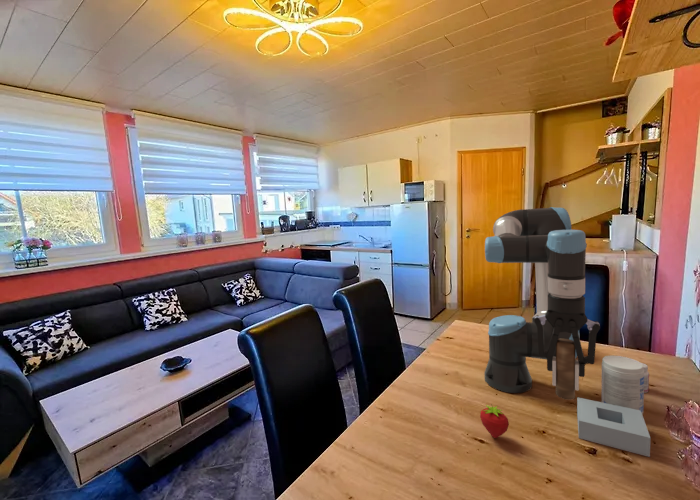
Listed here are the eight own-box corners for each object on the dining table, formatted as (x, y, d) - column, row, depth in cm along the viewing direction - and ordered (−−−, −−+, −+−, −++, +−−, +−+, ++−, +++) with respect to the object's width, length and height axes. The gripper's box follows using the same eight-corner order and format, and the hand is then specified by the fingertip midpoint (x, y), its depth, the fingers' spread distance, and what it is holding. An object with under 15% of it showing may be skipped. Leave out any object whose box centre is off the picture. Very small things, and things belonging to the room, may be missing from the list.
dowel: (555, 397, 80) (555, 343, 78) (555, 389, 83) (556, 337, 82) (575, 401, 78) (575, 346, 76) (574, 392, 81) (575, 340, 79)
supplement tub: (650, 421, 90) (652, 371, 88) (609, 417, 93) (610, 368, 91) (632, 401, 99) (633, 355, 97) (595, 398, 102) (596, 353, 100)
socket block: (578, 438, 85) (578, 420, 85) (577, 413, 95) (577, 397, 95) (649, 457, 78) (650, 437, 77) (640, 427, 87) (640, 410, 87)
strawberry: (501, 450, 83) (500, 414, 82) (475, 435, 89) (474, 401, 88) (514, 440, 86) (513, 405, 85) (488, 426, 92) (487, 393, 91)
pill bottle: (652, 393, 102) (653, 368, 101) (634, 392, 103) (635, 367, 102) (642, 385, 107) (642, 361, 106) (625, 384, 108) (626, 360, 107)
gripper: (524, 295, 79) (525, 384, 82) (613, 302, 70) (610, 402, 73) (527, 288, 85) (527, 371, 88) (609, 293, 76) (606, 385, 79)
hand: (565, 385), depth 80 cm, fingers closed on dowel, 4 cm apart
